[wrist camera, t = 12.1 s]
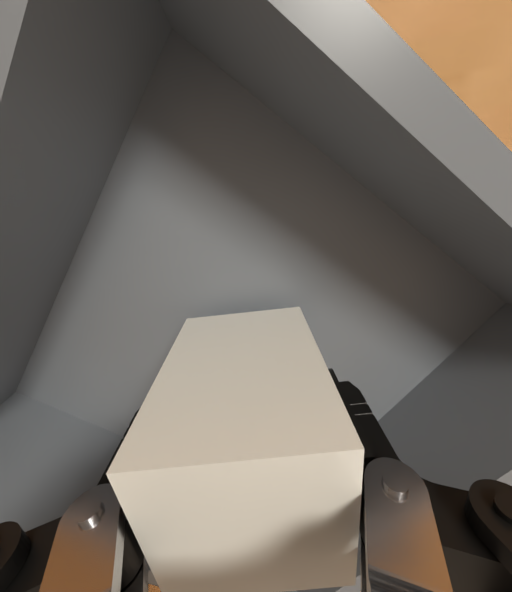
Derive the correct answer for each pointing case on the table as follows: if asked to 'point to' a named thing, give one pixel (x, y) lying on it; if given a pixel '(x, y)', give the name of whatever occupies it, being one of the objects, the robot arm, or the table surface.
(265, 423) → the white rectangular block
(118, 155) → the grey bin
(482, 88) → the table surface
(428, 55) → the table surface
